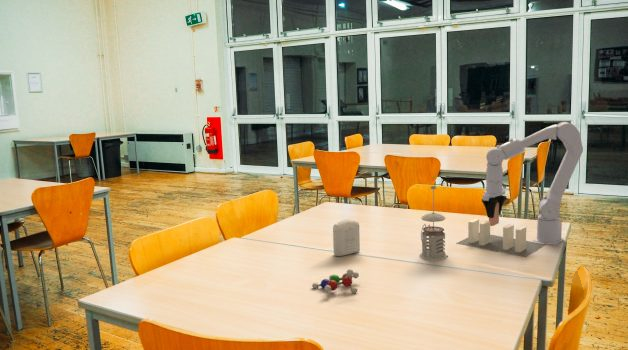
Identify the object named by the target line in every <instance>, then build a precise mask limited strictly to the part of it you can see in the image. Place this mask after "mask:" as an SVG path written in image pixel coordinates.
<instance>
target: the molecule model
mask: <svg viewBox="0 0 628 350" xmlns="http://www.w3.org/2000/svg"><path fill="white" fill-rule="evenodd" d="M359 276H360V275H359V272H357V271H354V270H353V269H351V268H348V269H347V270H346V273H343V275H342V276H341V277H340V276H339V275H337V274H330V275H329V277H328V278H323V279H322V280H321V281H320V284H318V283H317V282H313V283H312V285H311V287H313V288H317V289H319V287H321V288H322V289H323V288H324V289H323V290H324V292H326V293H330V292H333V291H336V290H337V289H338V286H339V285H342V286H343V287H345V288H350V293H351V292H352V293H351V294H353V293H355V294H357V293H358V288H357V287H355V286H352V285H353V279H358V278H359ZM340 281H341V282H340ZM313 288H312V289H313ZM356 292H357V293H356Z"/></svg>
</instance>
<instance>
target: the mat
mask: <svg viewBox="0 0 628 350" xmlns="http://www.w3.org/2000/svg"><path fill="white" fill-rule="evenodd" d="M479 240H480V232H479ZM479 240H478V241H476V242H474V243H468V237H466V238H464V239H462V240H460V241H458V242H456V245H462V246H466V247H472V248H477V249H482V250H487V251H491V252H497V253H502V254H506V255H507V254H508V255H513V256H518V257H523V258H527V257H529V256H531V255H532V254H534V253H535V252H537V251H538V250H540V249H542V248H544V247H545V246H547V245H548V244H546V243H540V242H534V241H529V240H526V249H525V250H523V251H522V252H515V238H514V241H513V247H512V248H510V249H508V250H504V249H503V236H501V235H495V234H490V243H488V244H486V245H484V246H483V245H479Z"/></svg>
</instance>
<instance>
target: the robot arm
mask: <svg viewBox="0 0 628 350" xmlns="http://www.w3.org/2000/svg"><path fill="white" fill-rule="evenodd" d="M557 138H558V139H559V140H560V141H561V142H562V144H563V146H564V148H565V149H566V151H565V154H564V156H563V157H562V160H561V162H560V165H559V167H558V170H557V171H556V173H555V176H554V178H553V181H552V182H551V184H550V187H549V189H548V191H546V193H545V194H544V197H543V198H542V199H541V200H539V202H538V205H537V207H538V210H539V212H540V213H539V214H537V226H536V238H535V239H533V240H532V242H536V243H542V244H547V245H552V246H555V245H557V244H559V243H561V241H564V240H565V238H562V229H563V228H562V226H563V224H562V220H561V218H560V217H559V215H560V206H561V204H562V198H563V195H564V194H565V192H566V189H567V186H568V184H569V182H570V180H571V178H572V175H573V174H574V171H575V169H576V167H577V165H578V163H579V160H580V158H581V157H582V154H583V151H584V147H583V146H584V145H583V142H582V138H581V132H580V131H579V130H578V128H577V127H576V125H574V124H572V123H571V122H569V121H561V122H559V123H557V124H556V123H555V124H552V125H550V126H547V127H545V128H543V129H540V130H539V131H536V132H534V133H532V134H530V135H528V136H526V137H524V138H522V139H518V138H514V139H513V138H509V139H508V141H506V142H505V143H502V144H501V145H500V144H498V145H496V146H495V148H490V149H489V150H488V151H487V153H486V156H485V157H486V161H487V163H486V175H485V176H486V177H485V178H486V179H485V180H486V181H485V182H486V184H485V185H486V186H485V189H486V190H484V191H482V193H483V194H482V198H481V202H482V204H483V206H484V208H485V212H486V216H487V218H488V219H489V218H494V214H495V207H496V204H497V203H499V216H501V213H502V209H503V205H504V204H505V201H506V200H507V196H506V195H505V194H506V189H505V188H503V183H504V182H503V175H504V172H503V169H504V168H503V161H504V160H508V159H511V158H514V157H515V156H518V155H520V154H522V153H524V150H525V148H527V147H530V146H532V145H534V144H538V143H540V142H542V141H545V140H557Z"/></svg>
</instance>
